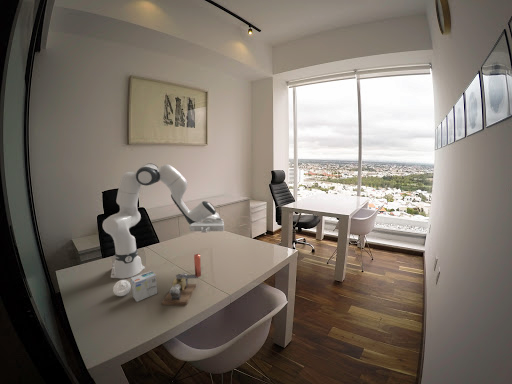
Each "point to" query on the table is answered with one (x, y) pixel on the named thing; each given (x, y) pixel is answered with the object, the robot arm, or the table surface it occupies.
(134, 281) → the light bulb box
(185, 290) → the mounting board
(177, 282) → the valve pipe
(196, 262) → the lever
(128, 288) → the white frosted cupcake
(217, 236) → the table surface
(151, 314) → the table surface
